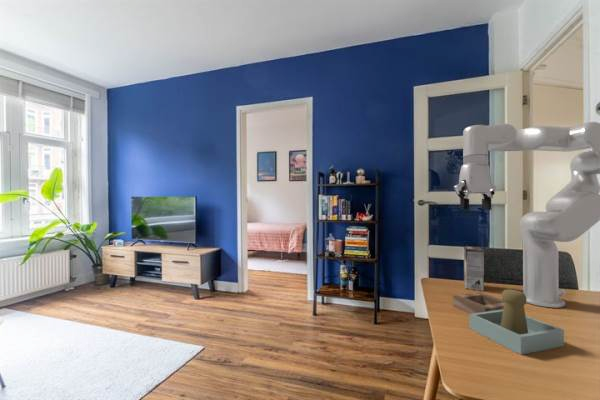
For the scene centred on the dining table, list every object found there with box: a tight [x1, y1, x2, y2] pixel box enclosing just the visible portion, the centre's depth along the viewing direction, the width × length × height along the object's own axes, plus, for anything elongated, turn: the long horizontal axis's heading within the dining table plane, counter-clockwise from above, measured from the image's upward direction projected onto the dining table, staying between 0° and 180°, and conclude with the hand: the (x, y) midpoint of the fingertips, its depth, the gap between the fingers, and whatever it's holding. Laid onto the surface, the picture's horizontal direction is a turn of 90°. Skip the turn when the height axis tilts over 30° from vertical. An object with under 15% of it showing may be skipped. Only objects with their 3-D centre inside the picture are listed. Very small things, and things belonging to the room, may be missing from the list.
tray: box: [468, 309, 565, 355], centre depth 74 cm, size 14×14×4 cm
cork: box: [501, 289, 528, 335], centre depth 74 cm, size 6×6×11 cm
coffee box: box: [463, 245, 485, 292], centre depth 117 cm, size 9×6×16 cm
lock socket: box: [452, 292, 504, 314], centre depth 91 cm, size 12×12×4 cm
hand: (475, 209), depth 100 cm, fingers open, 9 cm apart
